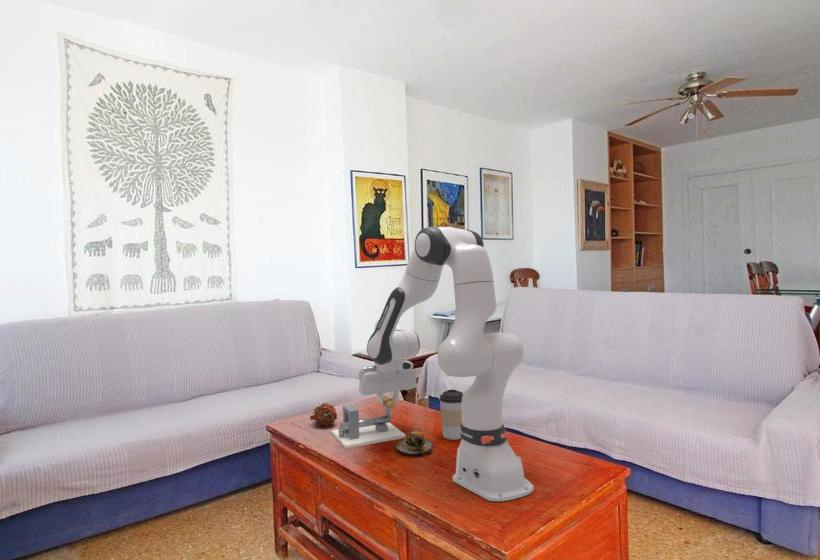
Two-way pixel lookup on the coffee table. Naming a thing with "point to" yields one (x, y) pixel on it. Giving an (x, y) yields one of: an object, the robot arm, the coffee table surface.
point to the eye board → (364, 431)
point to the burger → (415, 444)
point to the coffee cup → (451, 413)
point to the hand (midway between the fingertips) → (388, 404)
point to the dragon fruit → (324, 415)
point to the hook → (373, 420)
